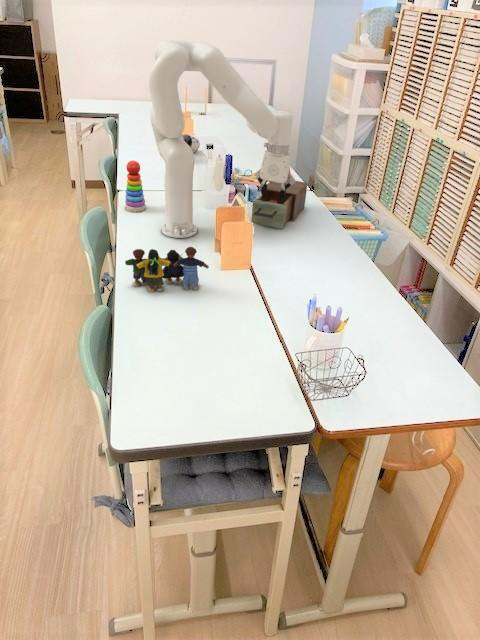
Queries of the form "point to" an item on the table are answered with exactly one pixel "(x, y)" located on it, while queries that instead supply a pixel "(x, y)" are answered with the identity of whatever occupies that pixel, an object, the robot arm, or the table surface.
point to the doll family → (165, 268)
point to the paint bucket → (192, 142)
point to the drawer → (272, 210)
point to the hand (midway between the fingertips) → (272, 197)
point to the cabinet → (294, 190)
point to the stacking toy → (134, 188)
